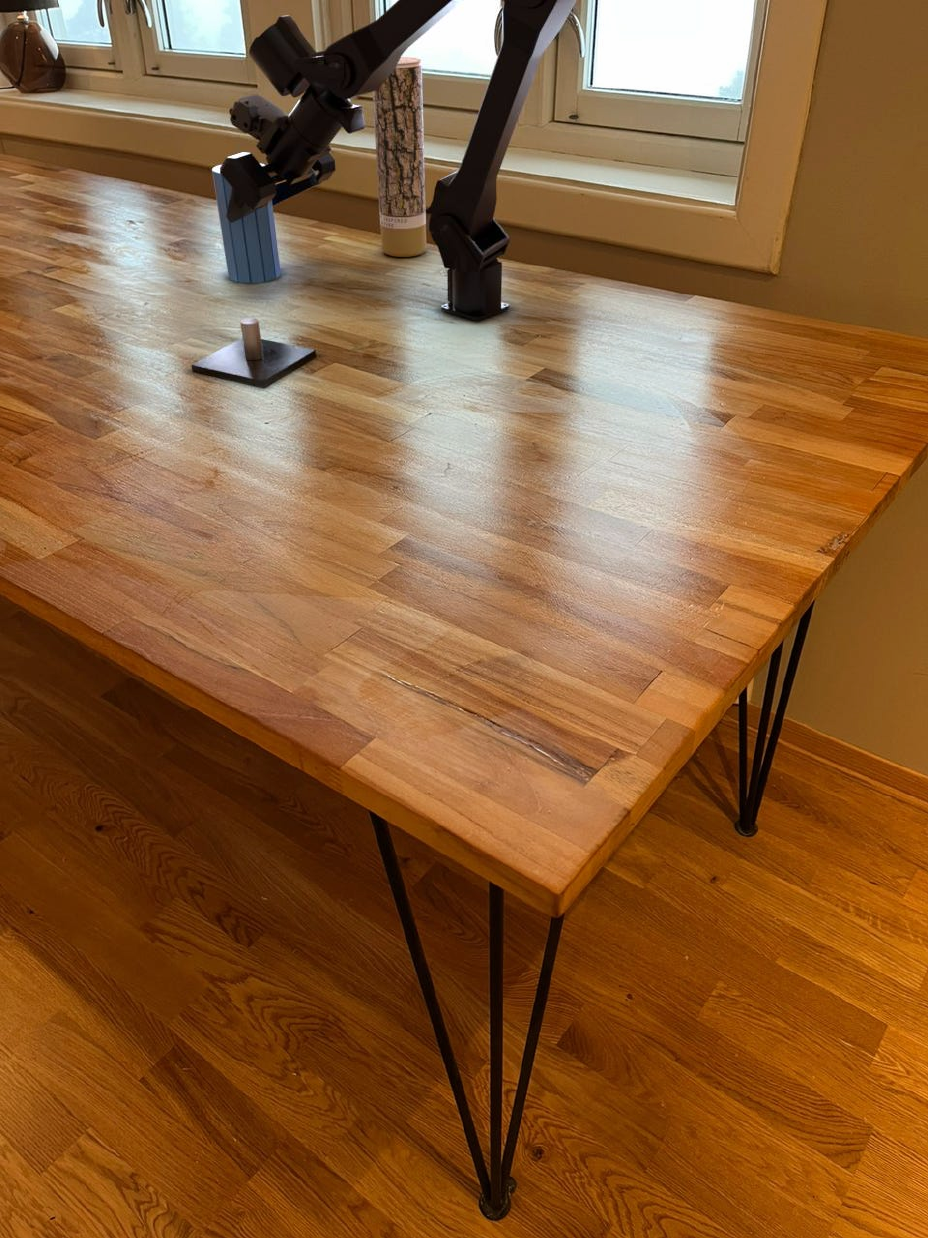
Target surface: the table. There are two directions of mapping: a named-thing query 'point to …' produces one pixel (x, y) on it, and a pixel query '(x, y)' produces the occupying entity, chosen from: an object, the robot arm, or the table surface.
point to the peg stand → (254, 358)
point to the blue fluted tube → (247, 239)
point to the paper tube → (401, 160)
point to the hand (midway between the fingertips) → (249, 211)
